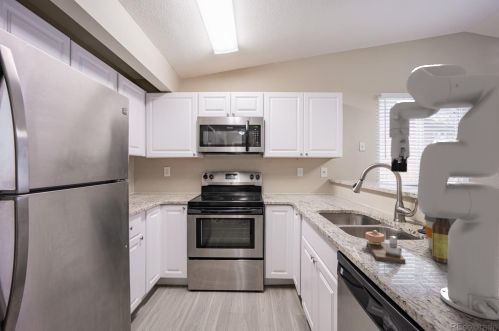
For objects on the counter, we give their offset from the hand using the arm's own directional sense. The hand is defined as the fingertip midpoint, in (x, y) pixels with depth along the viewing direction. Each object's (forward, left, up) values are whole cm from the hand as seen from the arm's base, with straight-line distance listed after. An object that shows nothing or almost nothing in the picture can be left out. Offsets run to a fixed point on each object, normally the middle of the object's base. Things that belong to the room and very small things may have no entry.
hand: (398, 171), depth 102 cm
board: (-12, +8, -33) cm, 36 cm away
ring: (-6, +10, -30) cm, 32 cm away
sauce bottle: (-13, -11, -34) cm, 38 cm away
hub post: (-6, +11, -32) cm, 34 cm away
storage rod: (-17, +6, -32) cm, 37 cm away
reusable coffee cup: (+1, -17, -34) cm, 38 cm away
